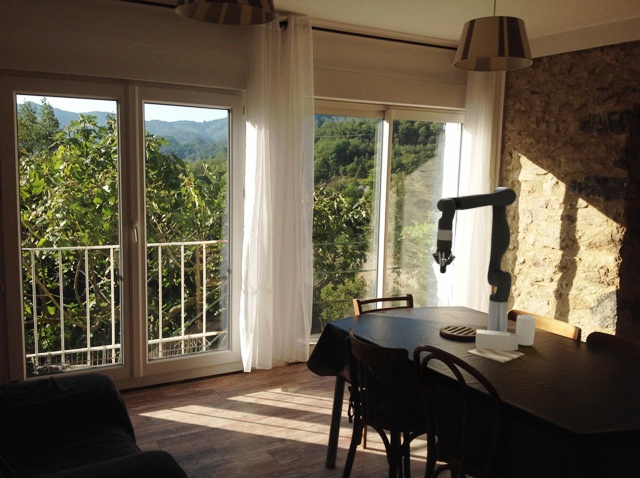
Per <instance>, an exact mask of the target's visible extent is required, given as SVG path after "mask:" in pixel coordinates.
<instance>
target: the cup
mask: <svg viewBox="0 0 640 478" xmlns="http://www.w3.org/2000/svg"><path fill="white" fill-rule="evenodd" d="M535 331H536V319H535V316H533V315H527V314H518V315H517V317H516V324H515V334H516V335H519V340H518V345H521V346H533V345H534V341H535V340H534V339H535Z"/></svg>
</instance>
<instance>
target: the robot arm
mask: <svg viewBox="0 0 640 478" xmlns="http://www.w3.org/2000/svg"><path fill="white" fill-rule="evenodd" d="M516 200H517V192H516V191H515V190H514V189H513V188H510V187H501V186H499V187H496V188H495V189H494V190H493V192H489V193H477V194H476V193H475V194H466V195H461V196H452V197H443V198H441V199H439V200H438V201H437V203H436V208H437V210H438V211H439V212H441V217H440V218H439V219H438V221H437V223H438V225H437V233H436V251H435V252H433V253H432V255H431V256H432V257H433V260H434V261H435V263H436V264H437V265H439V272H440V274H446V272H447V267H448V266H449V265H451V264H452V263H453V261H454V260H455V259H456V255H454V254H453V251H452V249H453V223H454V222H453V221H454V218H455V214H456V211H465V210H472V209H473V210H474V209H478V208H483V207H490V206H491V208H492V210H491V211H492V216H491V217H492V218H491V234H490V254H489V262H488V269H487V276H486V277H487V278H486V279H487V283H488V285H489V286H491V287H495V288H496V291H495V292H493V293H490V294H489V299H488V301H489V302H488V313H487V315H488V317H487V328H486V330H489V331H501V332H507V331H508V305H509V298H510V295H511V289H512V288H511V287H512V275H511V273H510V272H509V271H507V270H504V269H502V268H501V266H502V260H503V257H504V256H505V254H506V253H507V251H508V250H509V246H510V245H511V244H510V243H511V229H510V225H509V222H508V219H507V206H511V205H513V204H514V203H515V201H516Z"/></svg>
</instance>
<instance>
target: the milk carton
mask: <svg viewBox="0 0 640 478" xmlns="http://www.w3.org/2000/svg"><path fill="white" fill-rule="evenodd" d="M518 340H519V335H516V333H512V332H510V331H508V332H501V331H489V330H487V329H476V333H475V349H476V348H482V349H492V350H503V351H518V350H519V344H518Z"/></svg>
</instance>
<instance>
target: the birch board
mask: <svg viewBox="0 0 640 478" xmlns="http://www.w3.org/2000/svg"><path fill="white" fill-rule="evenodd" d="M467 353H469V354H472V355H475V356H478V357H480V358H481V357H482V358H485V359H488V360H492V361H496V362H498V363H501V364H504V363H506V362H509V361H512V360H515V359H517V358H520V357H524V356H525V353H522V352H520V351H517V350H512V351H503V350H492V349H482V348H476V347H475V348H474V349H471V350H467Z"/></svg>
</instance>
